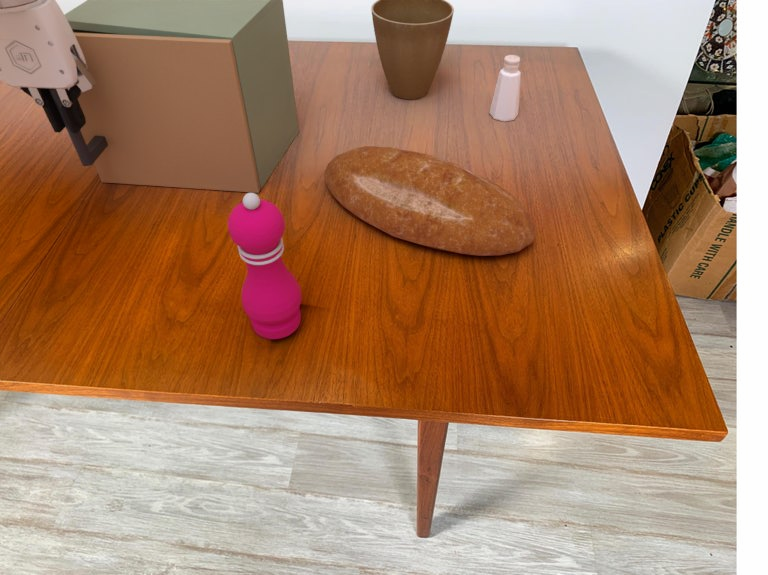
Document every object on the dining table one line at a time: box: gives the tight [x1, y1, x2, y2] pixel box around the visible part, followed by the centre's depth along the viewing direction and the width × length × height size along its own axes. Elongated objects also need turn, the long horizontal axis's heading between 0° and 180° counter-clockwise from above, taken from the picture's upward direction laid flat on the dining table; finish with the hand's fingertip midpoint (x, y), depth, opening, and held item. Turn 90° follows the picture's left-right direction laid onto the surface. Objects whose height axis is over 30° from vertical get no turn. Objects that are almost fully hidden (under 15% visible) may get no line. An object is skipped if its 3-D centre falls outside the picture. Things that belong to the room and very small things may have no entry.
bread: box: [323, 145, 536, 257], centre depth 86 cm, size 18×35×9 cm, turn 57°
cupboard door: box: [49, 33, 261, 194], centre depth 83 cm, size 7×26×24 cm, turn 83°
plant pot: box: [370, 0, 455, 100], centre depth 110 cm, size 15×15×16 cm
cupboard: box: [64, 0, 300, 190], centre depth 93 cm, size 18×26×24 cm
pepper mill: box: [227, 192, 302, 340], centre depth 67 cm, size 7×7×20 cm
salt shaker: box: [488, 54, 522, 122], centre depth 106 cm, size 5×5×11 cm
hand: (70, 127), depth 81 cm, fingers closed on cupboard door
